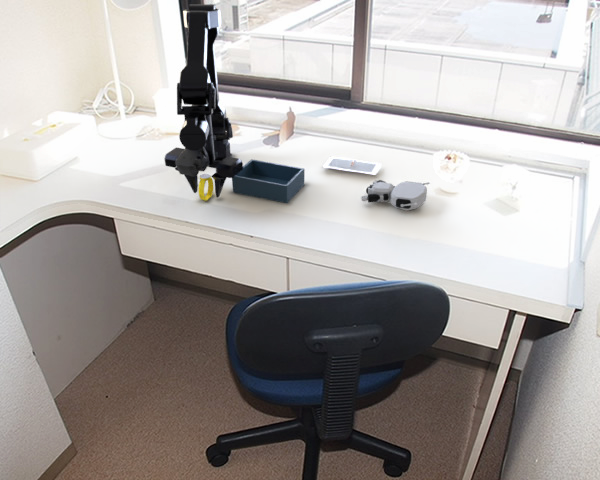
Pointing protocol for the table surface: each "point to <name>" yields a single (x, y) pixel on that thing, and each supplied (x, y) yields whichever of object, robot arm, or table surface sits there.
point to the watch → (202, 183)
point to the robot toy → (397, 194)
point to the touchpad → (352, 165)
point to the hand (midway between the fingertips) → (206, 194)
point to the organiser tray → (268, 181)
